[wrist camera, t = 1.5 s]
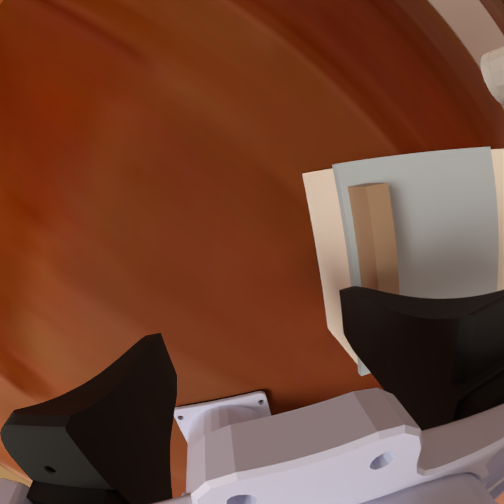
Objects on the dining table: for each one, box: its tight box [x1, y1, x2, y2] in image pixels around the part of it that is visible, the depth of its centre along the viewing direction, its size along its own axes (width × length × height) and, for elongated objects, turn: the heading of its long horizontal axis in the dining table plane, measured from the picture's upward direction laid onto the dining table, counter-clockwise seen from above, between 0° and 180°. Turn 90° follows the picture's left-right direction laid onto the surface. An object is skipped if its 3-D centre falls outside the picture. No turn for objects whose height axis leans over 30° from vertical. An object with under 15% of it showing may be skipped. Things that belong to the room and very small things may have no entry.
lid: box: [332, 147, 499, 376], centre depth 16 cm, size 12×12×2 cm
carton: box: [302, 149, 504, 365], centre depth 20 cm, size 12×19×6 cm, turn 102°
